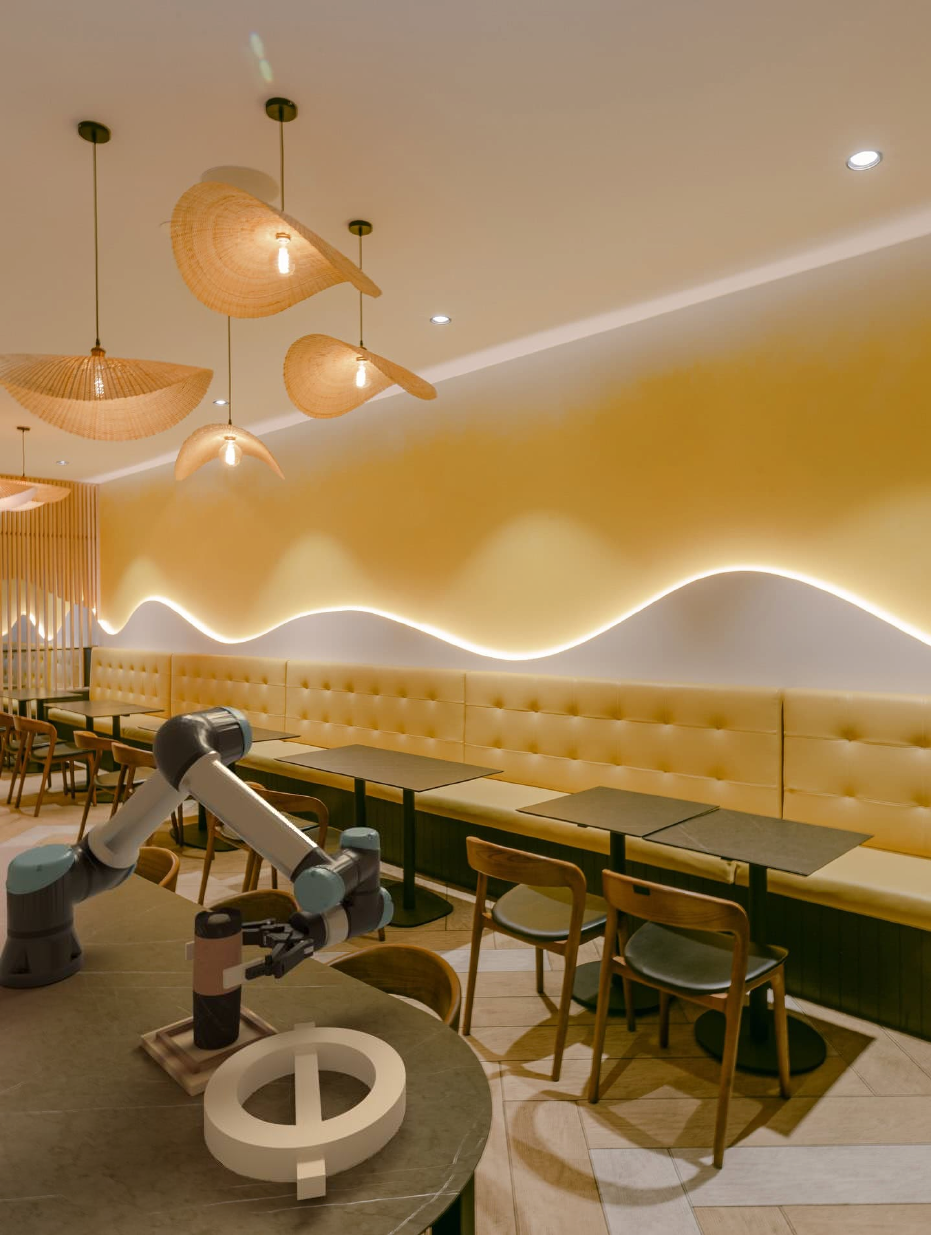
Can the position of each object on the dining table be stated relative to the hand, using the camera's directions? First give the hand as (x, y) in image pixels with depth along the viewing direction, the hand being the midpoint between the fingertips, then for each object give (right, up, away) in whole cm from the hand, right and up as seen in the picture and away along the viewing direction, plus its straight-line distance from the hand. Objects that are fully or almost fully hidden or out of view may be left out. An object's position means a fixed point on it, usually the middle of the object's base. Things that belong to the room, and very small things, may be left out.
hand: (203, 965), depth 125 cm
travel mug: (+1, -13, +2) cm, 13 cm away
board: (+1, -14, +2) cm, 14 cm away
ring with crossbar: (+20, -15, -14) cm, 28 cm away
